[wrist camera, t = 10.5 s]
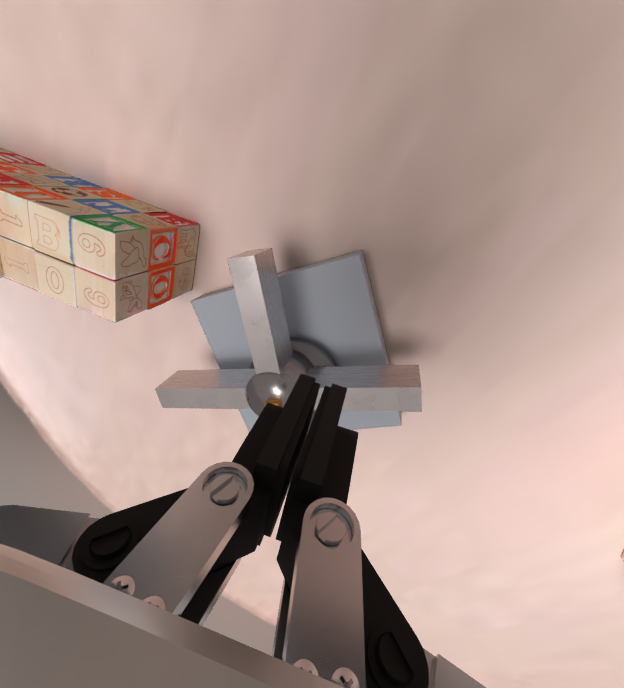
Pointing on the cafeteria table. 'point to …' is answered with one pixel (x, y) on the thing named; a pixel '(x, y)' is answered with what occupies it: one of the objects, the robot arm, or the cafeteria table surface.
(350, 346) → the stand
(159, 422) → the cafeteria table surface
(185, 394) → the capstan
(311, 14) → the cafeteria table surface
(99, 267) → the stack of blocks
